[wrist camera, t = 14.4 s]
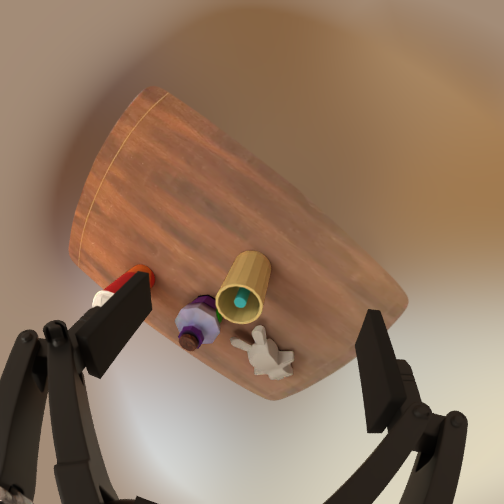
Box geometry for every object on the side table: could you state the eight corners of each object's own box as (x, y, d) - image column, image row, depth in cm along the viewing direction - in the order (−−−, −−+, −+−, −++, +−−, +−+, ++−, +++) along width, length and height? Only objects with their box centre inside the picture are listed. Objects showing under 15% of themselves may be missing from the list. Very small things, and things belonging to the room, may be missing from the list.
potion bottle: (237, 313, 57) (222, 353, 46) (205, 329, 60) (187, 368, 49) (209, 280, 55) (187, 316, 44) (178, 299, 58) (154, 335, 47)
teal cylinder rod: (247, 264, 52) (234, 296, 42) (257, 265, 52) (246, 298, 42) (246, 272, 53) (233, 306, 43) (256, 274, 52) (245, 308, 42)
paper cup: (147, 299, 59) (115, 338, 47) (122, 274, 58) (84, 309, 45) (166, 278, 56) (133, 318, 44) (139, 251, 55) (99, 285, 42)
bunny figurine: (266, 389, 59) (222, 351, 54) (267, 372, 63) (226, 332, 58) (304, 376, 56) (263, 333, 51) (304, 358, 60) (265, 314, 55)
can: (234, 247, 51) (216, 280, 41) (273, 253, 51) (265, 288, 40) (232, 281, 54) (214, 319, 43) (268, 287, 53) (259, 327, 43)
